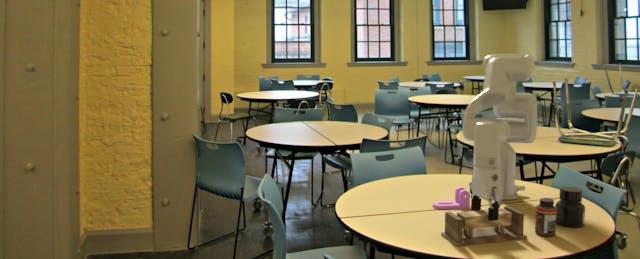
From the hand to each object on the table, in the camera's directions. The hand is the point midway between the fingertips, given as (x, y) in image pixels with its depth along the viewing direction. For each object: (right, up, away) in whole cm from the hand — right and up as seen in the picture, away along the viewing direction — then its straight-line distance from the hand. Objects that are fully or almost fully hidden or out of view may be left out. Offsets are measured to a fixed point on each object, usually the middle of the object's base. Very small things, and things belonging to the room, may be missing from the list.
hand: (484, 215), depth 159 cm
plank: (0, -3, +1) cm, 3 cm away
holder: (0, -7, +1) cm, 7 cm away
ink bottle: (+32, -5, +12) cm, 35 cm away
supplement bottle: (+20, -7, +3) cm, 21 cm away
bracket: (-2, -3, +33) cm, 33 cm away
